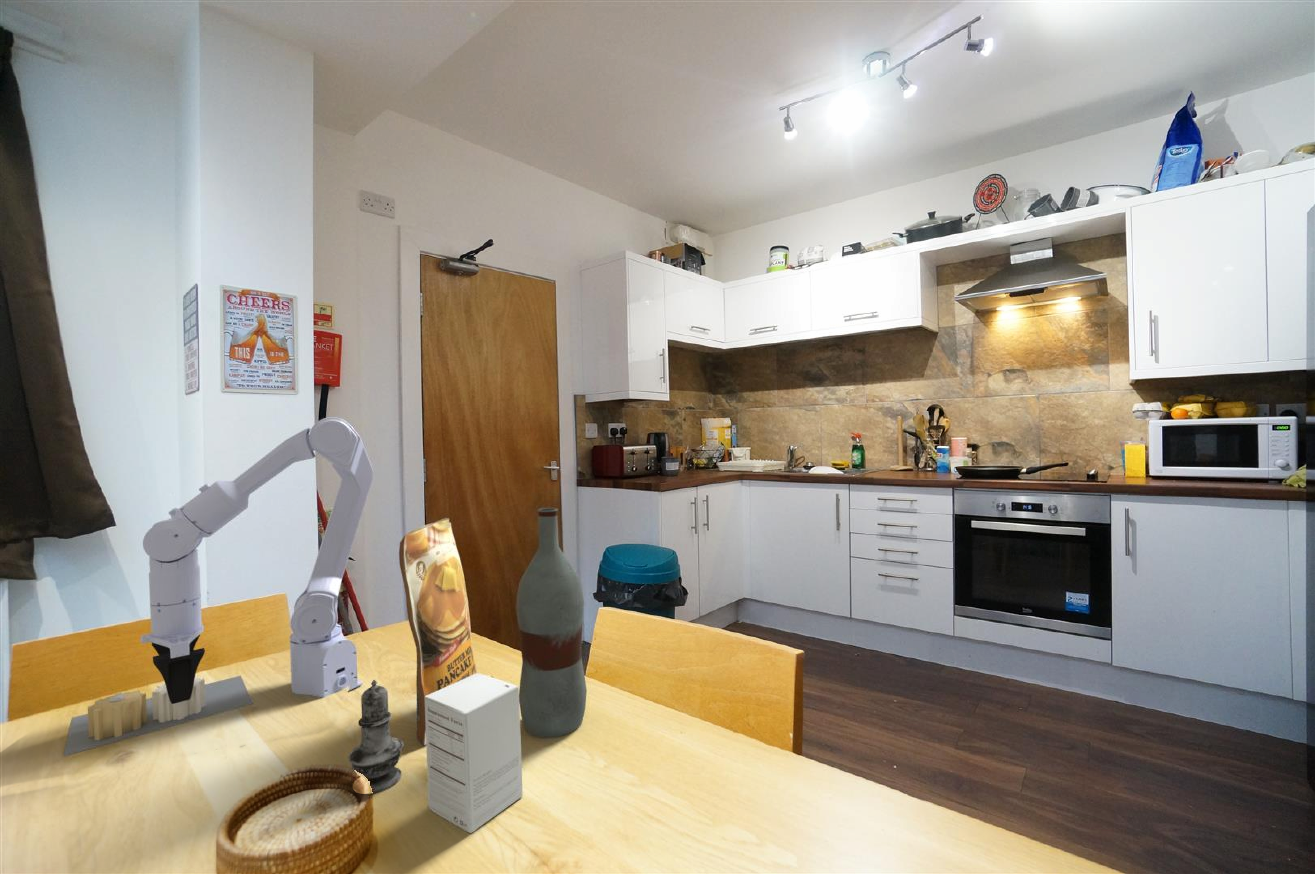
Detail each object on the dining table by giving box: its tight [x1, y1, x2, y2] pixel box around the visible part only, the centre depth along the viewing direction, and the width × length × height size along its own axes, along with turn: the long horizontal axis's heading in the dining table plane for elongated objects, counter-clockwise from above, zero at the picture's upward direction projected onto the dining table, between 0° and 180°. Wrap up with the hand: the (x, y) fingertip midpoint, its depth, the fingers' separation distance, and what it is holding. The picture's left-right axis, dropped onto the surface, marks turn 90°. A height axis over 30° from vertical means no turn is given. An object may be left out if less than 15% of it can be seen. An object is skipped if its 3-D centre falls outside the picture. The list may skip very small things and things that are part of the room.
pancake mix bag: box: [398, 517, 478, 747], centre depth 83 cm, size 7×19×28 cm, turn 174°
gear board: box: [62, 675, 254, 757], centre depth 85 cm, size 20×14×6 cm
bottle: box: [515, 507, 588, 739], centre depth 81 cm, size 9×9×30 cm
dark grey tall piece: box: [348, 679, 404, 795], centre depth 68 cm, size 6×6×12 cm
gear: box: [151, 676, 205, 722], centre depth 85 cm, size 6×6×4 cm
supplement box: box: [425, 672, 524, 834], centre depth 63 cm, size 7×7×13 cm
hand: (179, 692), depth 85 cm, fingers open, 7 cm apart
